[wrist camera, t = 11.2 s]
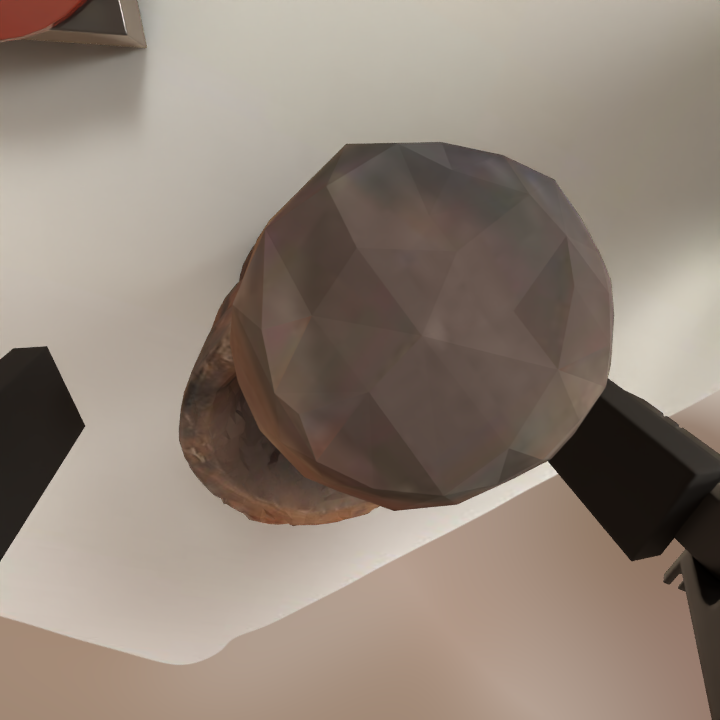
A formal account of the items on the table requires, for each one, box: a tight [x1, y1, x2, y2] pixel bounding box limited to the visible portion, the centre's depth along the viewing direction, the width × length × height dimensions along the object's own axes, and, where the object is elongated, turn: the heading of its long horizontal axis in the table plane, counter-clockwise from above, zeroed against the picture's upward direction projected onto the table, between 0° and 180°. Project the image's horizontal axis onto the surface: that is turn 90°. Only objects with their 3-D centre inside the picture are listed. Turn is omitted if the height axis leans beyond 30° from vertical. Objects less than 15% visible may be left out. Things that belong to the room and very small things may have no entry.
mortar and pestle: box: [179, 142, 614, 526], centre depth 13 cm, size 12×9×20 cm
